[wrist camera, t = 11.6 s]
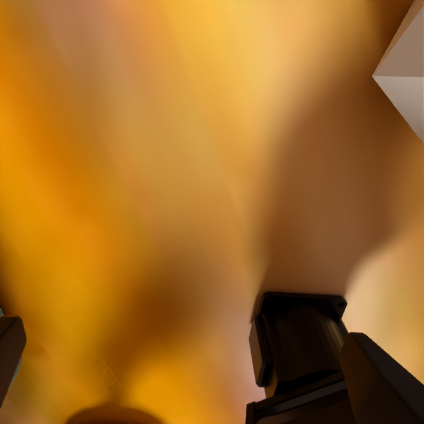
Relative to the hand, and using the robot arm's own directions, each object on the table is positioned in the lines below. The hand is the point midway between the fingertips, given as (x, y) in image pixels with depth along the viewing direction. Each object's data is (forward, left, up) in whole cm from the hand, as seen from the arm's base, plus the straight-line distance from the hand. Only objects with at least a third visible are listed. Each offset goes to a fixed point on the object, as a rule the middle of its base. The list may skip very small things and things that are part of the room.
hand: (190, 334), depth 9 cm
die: (-12, -8, -12) cm, 19 cm away
